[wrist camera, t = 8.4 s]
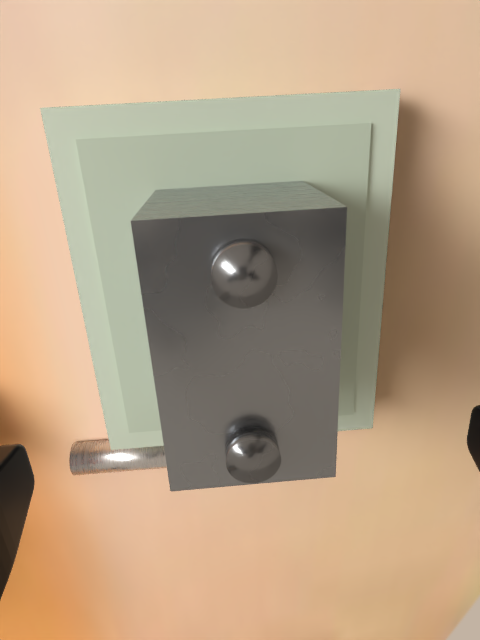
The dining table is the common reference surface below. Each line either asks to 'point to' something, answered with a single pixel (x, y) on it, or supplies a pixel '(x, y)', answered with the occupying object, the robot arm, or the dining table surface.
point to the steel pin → (113, 458)
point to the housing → (244, 329)
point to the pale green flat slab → (218, 170)
